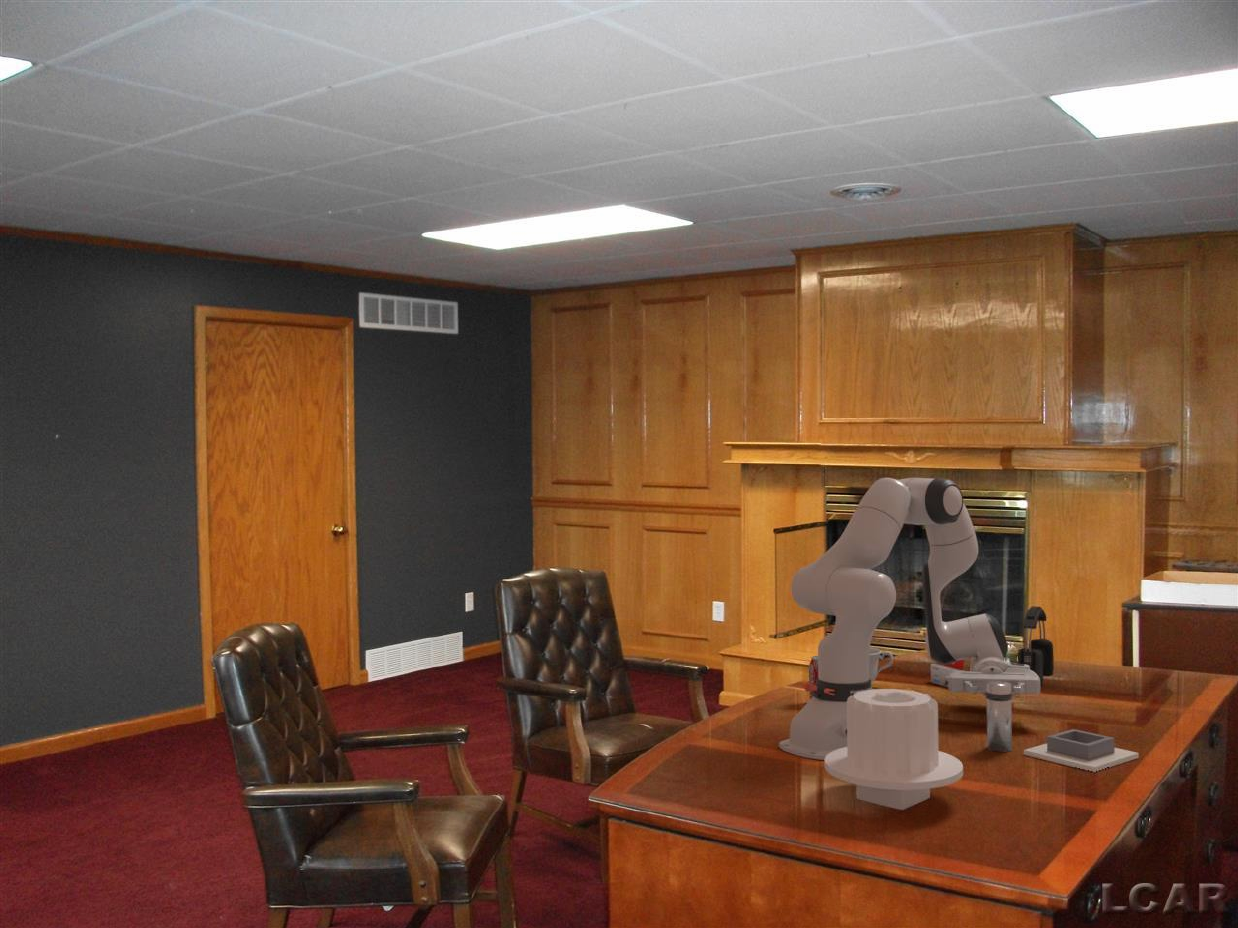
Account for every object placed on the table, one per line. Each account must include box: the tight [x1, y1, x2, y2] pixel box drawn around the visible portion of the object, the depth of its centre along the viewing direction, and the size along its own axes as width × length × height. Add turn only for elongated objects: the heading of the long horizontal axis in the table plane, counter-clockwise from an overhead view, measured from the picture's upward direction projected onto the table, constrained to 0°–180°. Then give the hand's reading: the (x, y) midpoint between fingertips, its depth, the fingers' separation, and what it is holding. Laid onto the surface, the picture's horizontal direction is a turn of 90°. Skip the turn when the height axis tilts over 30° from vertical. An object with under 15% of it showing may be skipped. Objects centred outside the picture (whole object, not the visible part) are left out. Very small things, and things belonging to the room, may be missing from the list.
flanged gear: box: [824, 688, 964, 811], centre depth 205 cm, size 25×25×19 cm
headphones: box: [1016, 606, 1055, 686], centre depth 304 cm, size 22×6×20 cm, turn 148°
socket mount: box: [1023, 728, 1140, 773], centre depth 230 cm, size 16×16×4 cm
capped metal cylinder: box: [985, 681, 1013, 753], centre depth 237 cm, size 5×5×14 cm
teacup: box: [869, 646, 894, 683], centre depth 298 cm, size 12×15×10 cm
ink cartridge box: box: [930, 659, 965, 688], centre depth 298 cm, size 2×11×10 cm, turn 25°
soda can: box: [808, 655, 818, 701], centre depth 279 cm, size 7×7×12 cm
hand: (995, 690), depth 248 cm, fingers open, 8 cm apart
